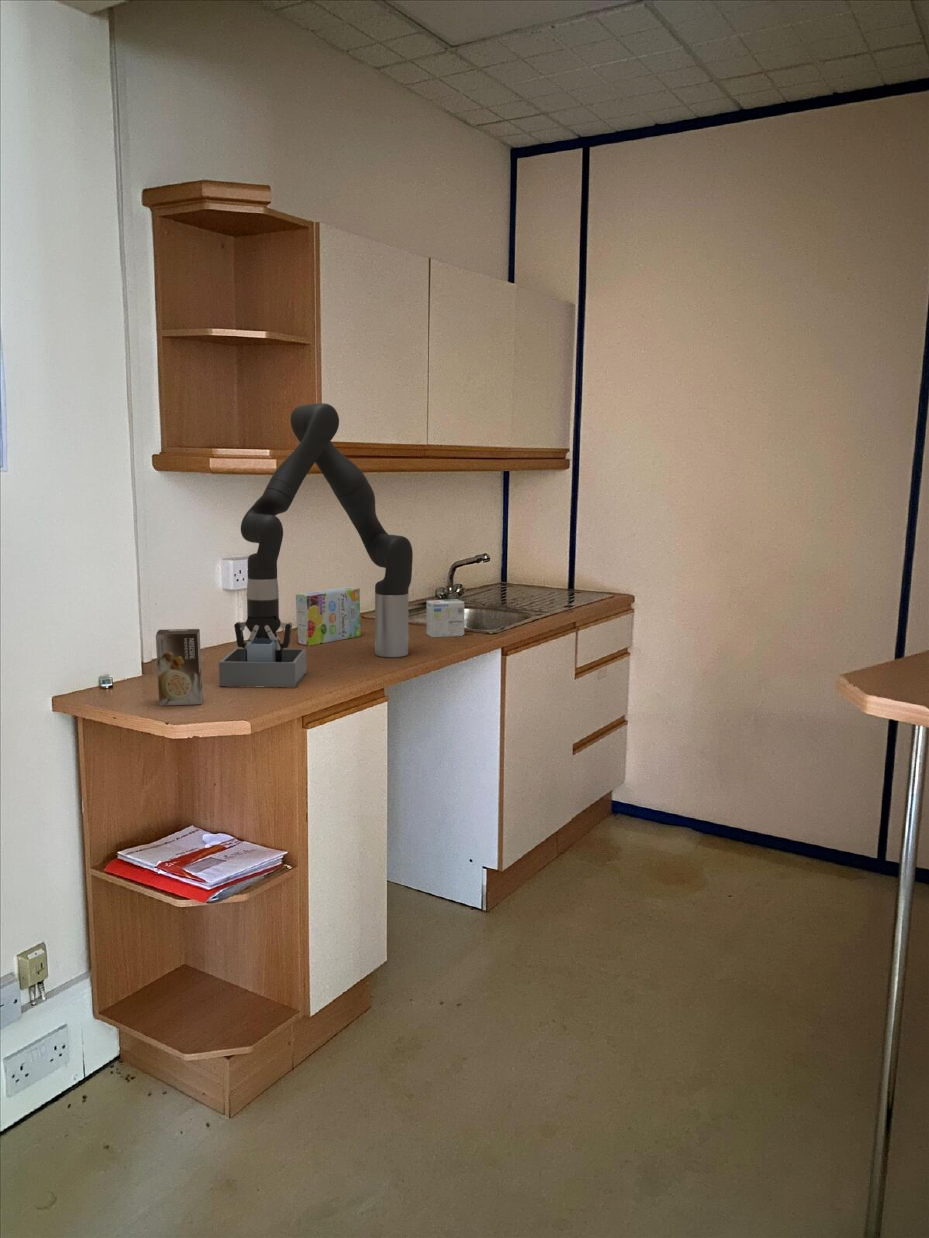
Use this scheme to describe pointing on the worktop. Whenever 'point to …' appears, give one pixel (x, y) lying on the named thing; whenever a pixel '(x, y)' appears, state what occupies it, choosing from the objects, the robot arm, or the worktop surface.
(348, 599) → the snack box
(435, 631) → the light bulb box
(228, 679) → the charcoal crate
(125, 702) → the worktop surface
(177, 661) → the coffee box
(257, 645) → the blue open bin
